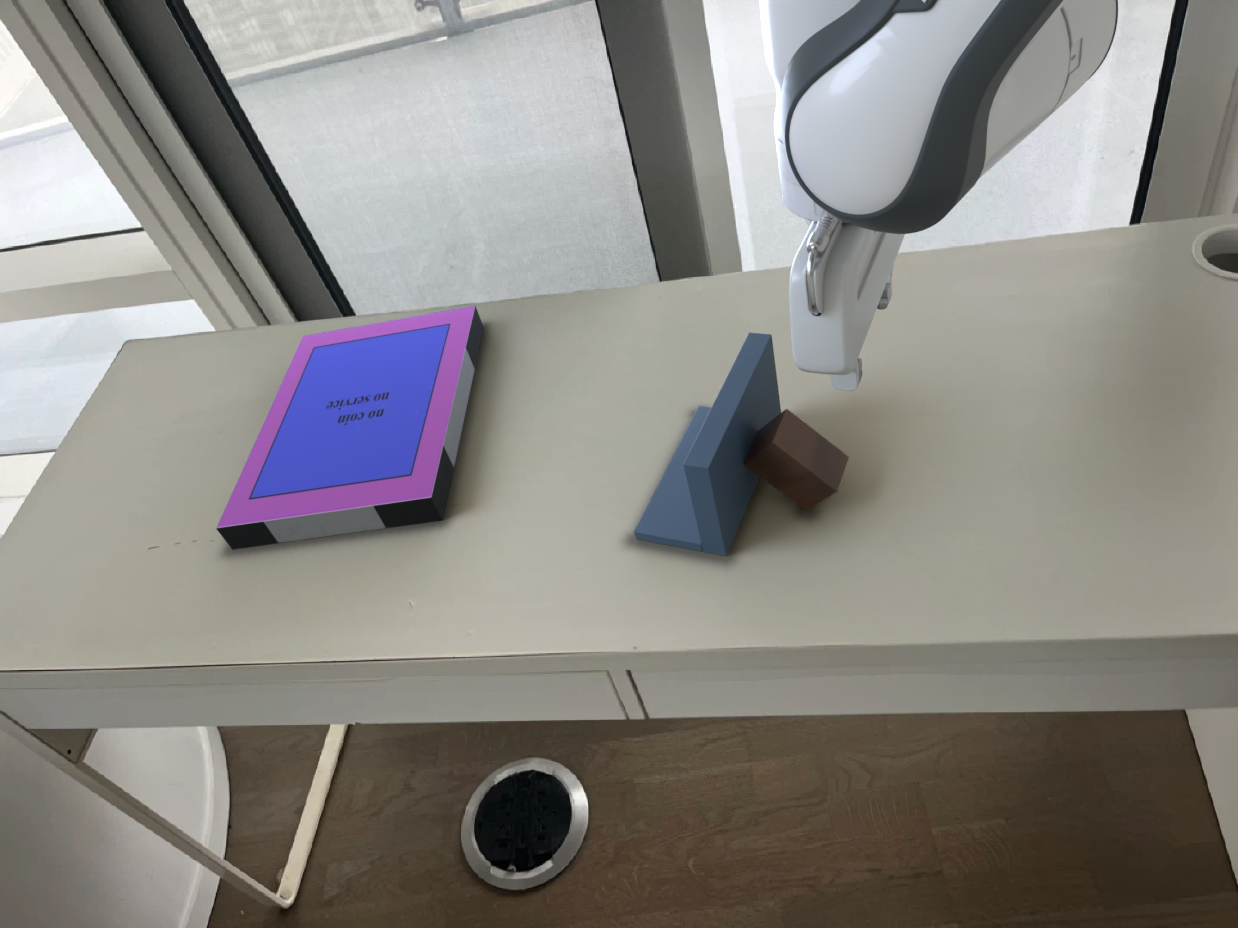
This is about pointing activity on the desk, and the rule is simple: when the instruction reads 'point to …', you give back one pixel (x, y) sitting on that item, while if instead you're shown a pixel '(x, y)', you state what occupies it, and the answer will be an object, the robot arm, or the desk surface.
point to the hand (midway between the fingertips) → (863, 342)
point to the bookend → (716, 459)
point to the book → (359, 432)
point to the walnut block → (796, 460)
